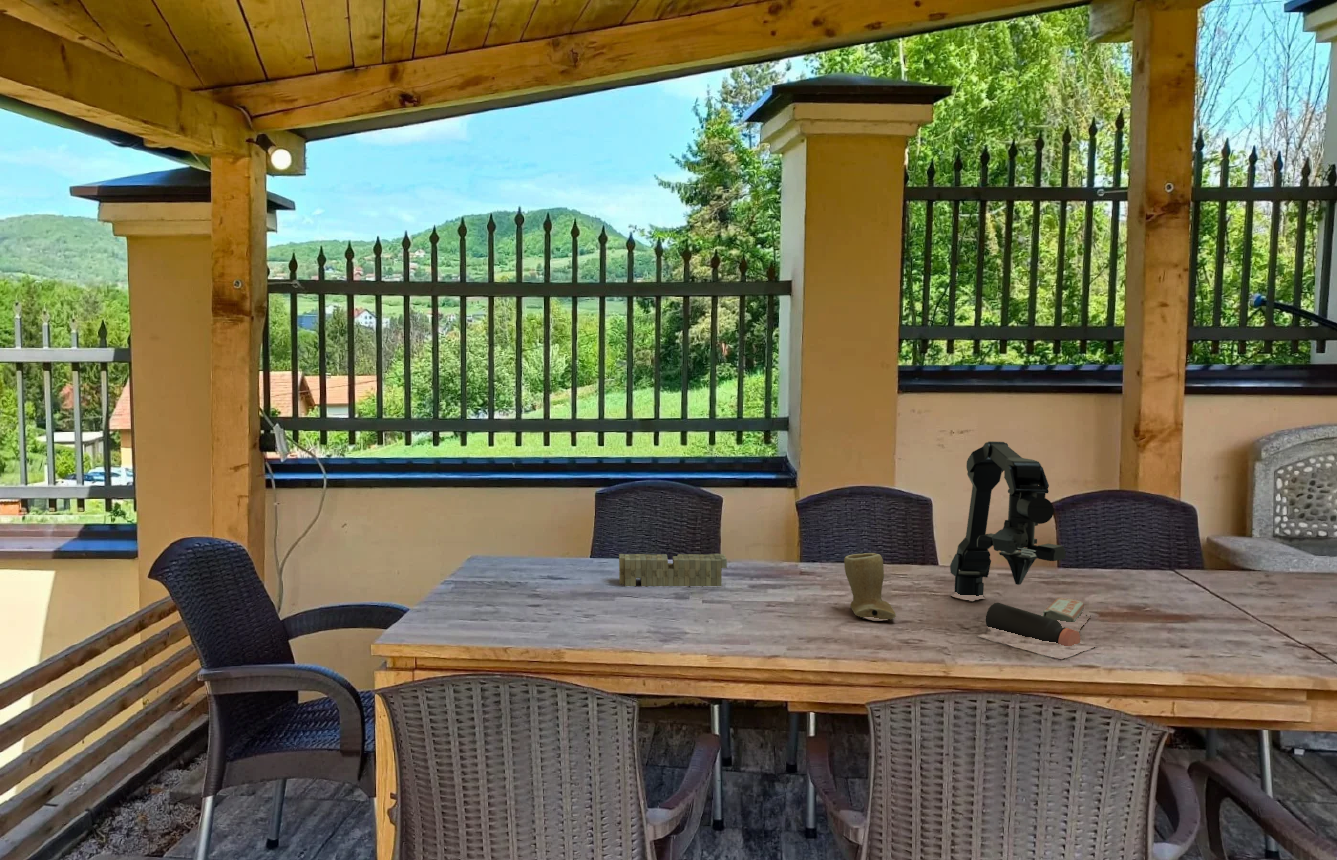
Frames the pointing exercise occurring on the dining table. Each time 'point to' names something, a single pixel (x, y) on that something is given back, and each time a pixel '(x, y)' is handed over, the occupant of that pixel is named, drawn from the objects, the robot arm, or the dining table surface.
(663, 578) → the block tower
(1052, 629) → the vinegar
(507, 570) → the dining table surface
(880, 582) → the olive green boot
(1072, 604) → the packaged product
